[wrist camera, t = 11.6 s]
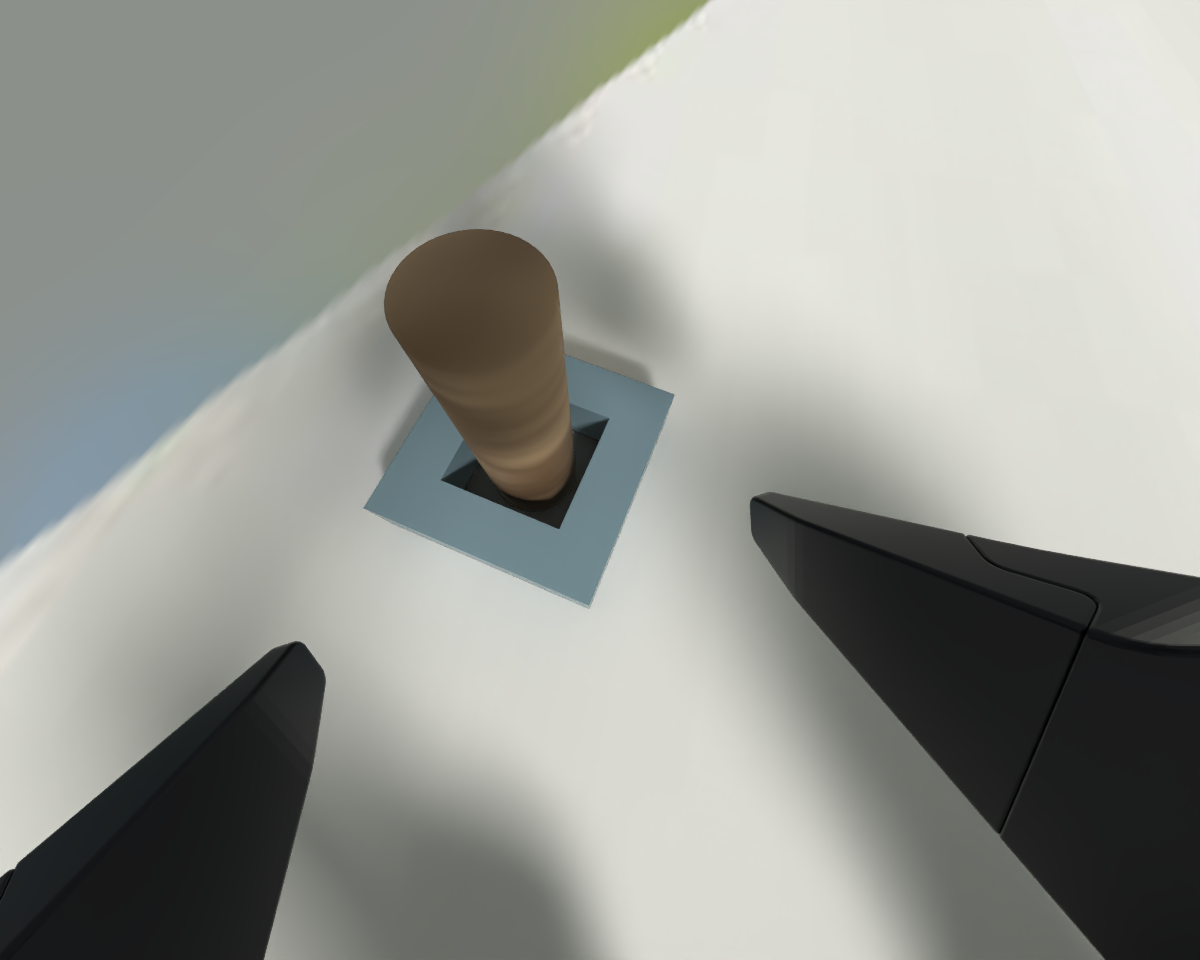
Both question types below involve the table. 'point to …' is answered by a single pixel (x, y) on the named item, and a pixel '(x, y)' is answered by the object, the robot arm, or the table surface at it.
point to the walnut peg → (491, 355)
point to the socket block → (510, 539)
